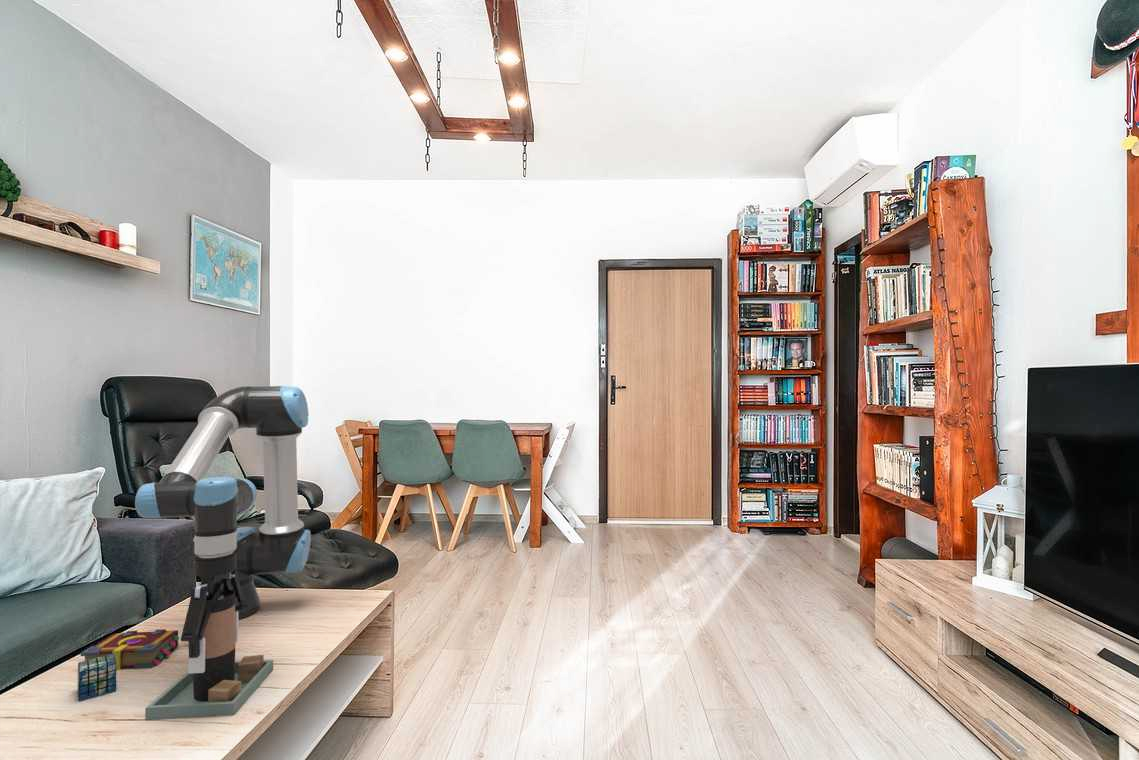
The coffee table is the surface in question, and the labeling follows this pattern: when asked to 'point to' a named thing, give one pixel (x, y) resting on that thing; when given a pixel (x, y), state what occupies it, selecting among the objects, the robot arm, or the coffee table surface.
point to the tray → (183, 704)
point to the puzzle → (96, 677)
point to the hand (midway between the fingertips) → (214, 656)
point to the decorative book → (135, 648)
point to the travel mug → (218, 647)
